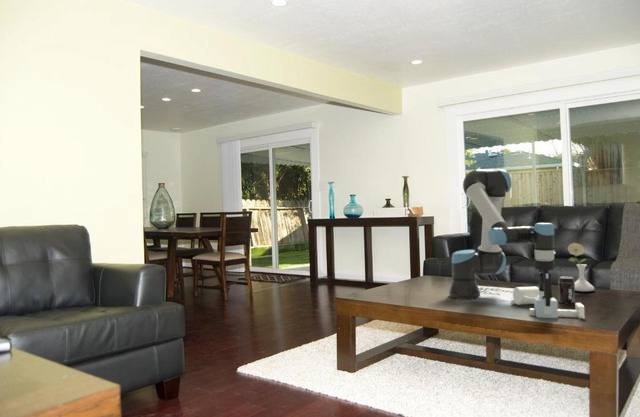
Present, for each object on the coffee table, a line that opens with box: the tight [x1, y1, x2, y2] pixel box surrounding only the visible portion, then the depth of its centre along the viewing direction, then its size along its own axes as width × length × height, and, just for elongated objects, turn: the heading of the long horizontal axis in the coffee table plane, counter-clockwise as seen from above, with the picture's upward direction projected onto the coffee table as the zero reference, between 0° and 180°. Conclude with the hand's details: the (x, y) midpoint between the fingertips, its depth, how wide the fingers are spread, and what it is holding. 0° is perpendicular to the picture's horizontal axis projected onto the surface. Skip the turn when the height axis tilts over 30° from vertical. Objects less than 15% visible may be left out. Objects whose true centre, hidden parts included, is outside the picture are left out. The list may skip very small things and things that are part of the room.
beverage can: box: [557, 275, 576, 305], centre depth 232 cm, size 7×7×12 cm
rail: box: [529, 302, 586, 320], centre depth 208 cm, size 20×7×5 cm, turn 73°
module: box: [533, 297, 559, 319], centre depth 209 cm, size 8×7×8 cm
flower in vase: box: [567, 242, 595, 293], centre depth 259 cm, size 13×11×25 cm
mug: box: [512, 286, 539, 306], centre depth 230 cm, size 12×10×8 cm
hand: (545, 310), depth 209 cm, fingers open, 13 cm apart
